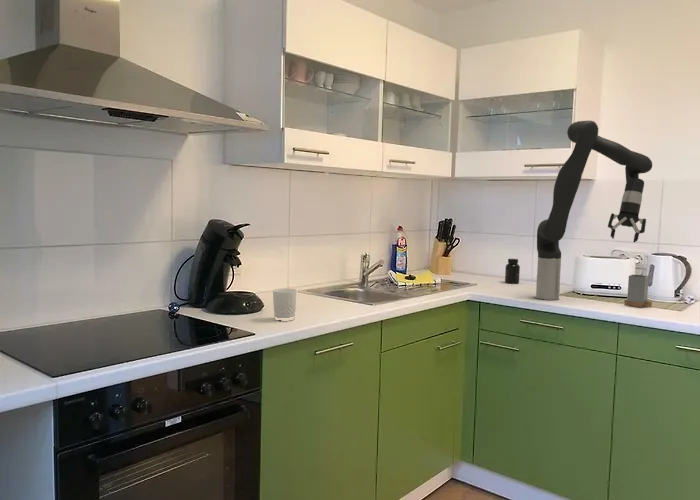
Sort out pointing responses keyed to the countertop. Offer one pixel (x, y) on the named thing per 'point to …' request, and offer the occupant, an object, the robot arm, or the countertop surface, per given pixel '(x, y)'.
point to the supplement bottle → (512, 272)
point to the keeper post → (638, 304)
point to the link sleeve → (638, 288)
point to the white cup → (284, 303)
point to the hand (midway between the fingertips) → (623, 240)
